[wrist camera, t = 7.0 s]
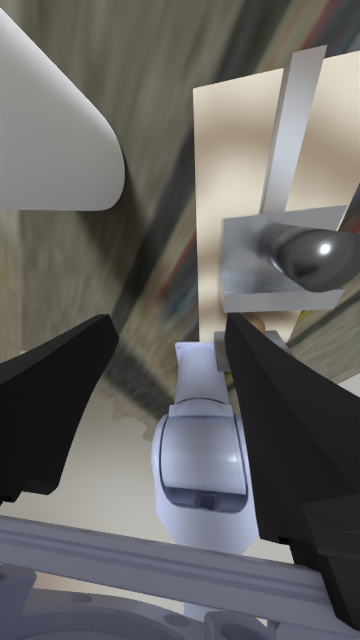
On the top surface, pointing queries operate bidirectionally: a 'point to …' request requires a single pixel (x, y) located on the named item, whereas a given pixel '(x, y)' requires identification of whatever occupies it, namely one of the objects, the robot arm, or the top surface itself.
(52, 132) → the can
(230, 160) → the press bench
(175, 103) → the top surface
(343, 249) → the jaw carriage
